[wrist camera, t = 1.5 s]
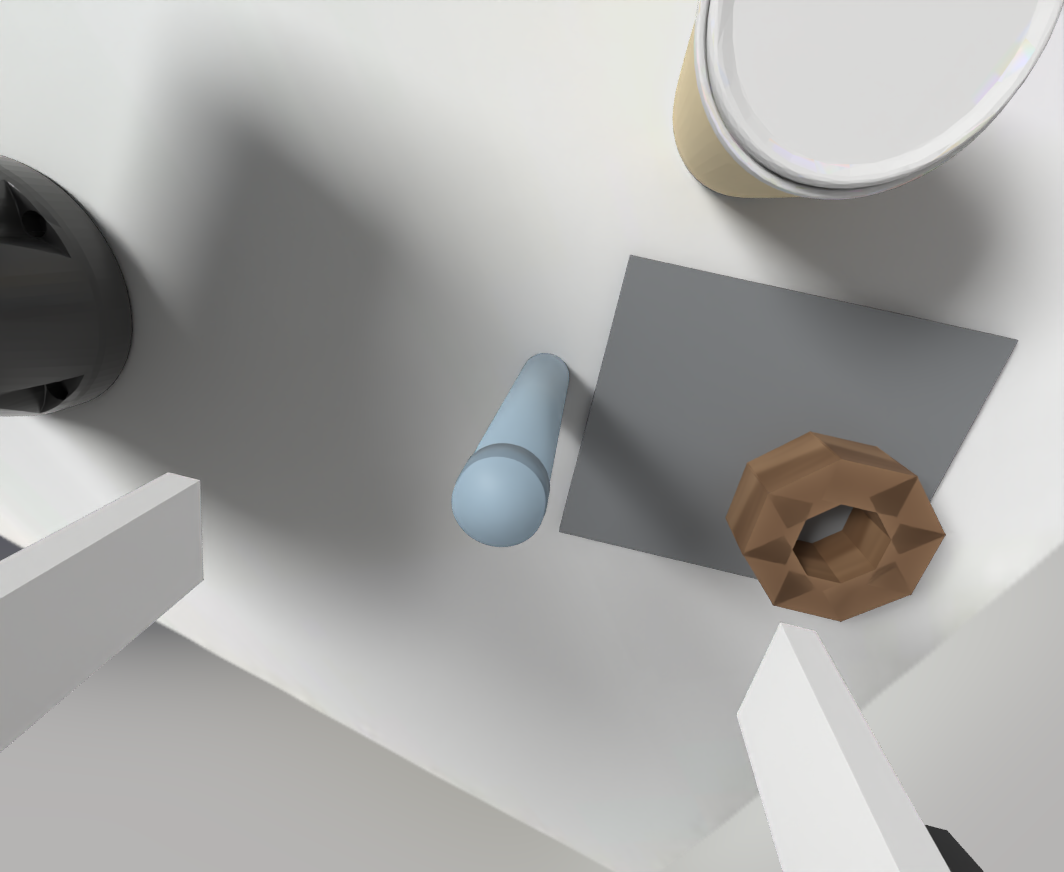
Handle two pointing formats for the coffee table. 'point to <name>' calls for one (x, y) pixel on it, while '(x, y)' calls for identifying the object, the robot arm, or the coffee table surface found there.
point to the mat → (756, 403)
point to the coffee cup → (846, 89)
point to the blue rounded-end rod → (514, 459)
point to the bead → (846, 556)
